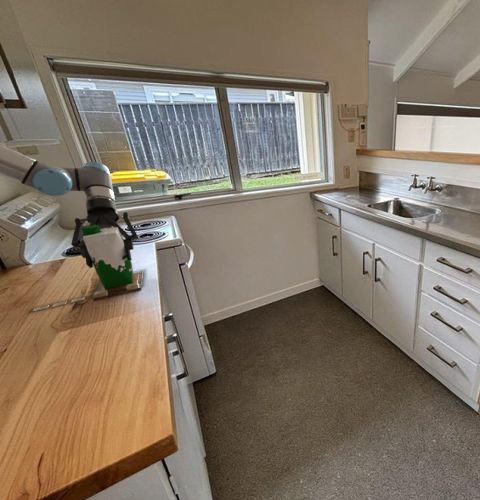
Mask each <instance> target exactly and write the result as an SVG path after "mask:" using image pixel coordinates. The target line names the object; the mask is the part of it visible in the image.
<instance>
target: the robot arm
mask: <svg viewBox="0 0 480 500" xmlns="http://www.w3.org/2000/svg"><path fill="white" fill-rule="evenodd" d="M0 176H1V177H4V178H6V179H9V180H11V181H14V182H17V183H20V184H23V185H24V186H27V187H30V188H32V189H34V190H37V192H38V191H39V192H40V193H42V194H44V195H46V196H51V197H60V196H64V195H66V194H68V193H69V192H83V193H84V201H85V207H86V214H87V215H86V217H85V218H81V219H80V218H78V217H76V218H74V222H75V226H74V230H73V234H72V239H71V243H70V245H71V246H72V247H73V248H74V249H75V250H79V251H80V256H81V257H82V258H83V259H85V264H86V265H85V266H87V267H88V268H89V269H91V268H94V265H93V262H92V260H91V257H90V255H89V252H88V250H87V247H86V245H85V242H84V240H83V231H82V229H81V228H82V227H84V226H87V225H86V224H87V223H89V225H99V228H100V229H104V228H114V227H118V229H119V231H120V233H121V235H122V238H123V240H124V246H125V252H126V257H127V258H128V260H131V261H132V260H133V259H132V254H131V251H133V250H134V248H135V247H134V240H135V241H136V240H139V235H138V234H137V232H136V230H135V228H134V227H133V224H132V223H131V218H130V215H129V213H128V212H127V211H124V212H123V213H118V211H117V210H118V209H117V207H116V206H117V205H116V200H115V194H114V188H113V187H114V186H113V181H112V176H111V173H110V170H109V168H108V167H107V165H105V164H103V163H100V162H98V161H90V162H84V163H83V164H82V165H81V167H75V168H74V167H64V166H52V165H49V164H46V163H44V162H41V161H39V160H37V159H35V158H32V157H30V156H27V155H25V154H22V153H20V152H18V151H15V150H14V149H11V148H9V147H6V146H4V145H3V144H2V145H1V144H0ZM119 219H121V220H122V221H123V222H124V223H125V225H126V227H127V228H128V230H129V232H130V234H128V232H126V230H124V228H122V226H121V225H120V224H119V223H117V222H118V221H119Z"/></svg>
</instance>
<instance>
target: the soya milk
mask: <svg viewBox="0 0 480 500" xmlns="http://www.w3.org/2000/svg"><path fill="white" fill-rule="evenodd" d="M81 229H82V231H83V235H82V239H83V240H84V242H85V245H86V247H87V250H88V252H89V255H90V257H91V260H92V262H93V268H94V270H95V272H96V275H97V277H98V279H99V281H100V282H101V283H102V285H103V286H104V288H105V290H108V289H112V288H117V287H121V286H125V285H129V284H133V273H134V269H133V264H132V260H128V258H127V257H126V252H125V246H124V240H123V239H124V237H123V236H122V235H121V233H120V231H119V229H118V227H110V228H103V229H100V228H99V225H90V224H89V225H85V226H84V227H82V228H81Z"/></svg>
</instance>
